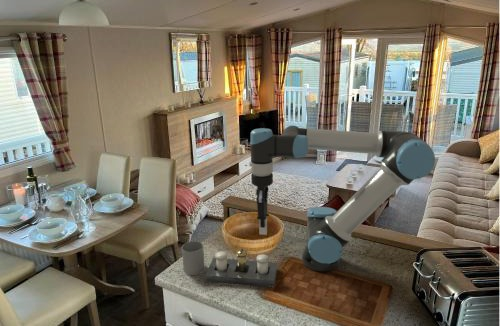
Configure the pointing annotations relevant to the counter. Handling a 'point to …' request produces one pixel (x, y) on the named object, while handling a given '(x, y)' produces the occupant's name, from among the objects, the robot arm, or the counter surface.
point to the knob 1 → (221, 261)
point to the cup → (193, 257)
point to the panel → (242, 274)
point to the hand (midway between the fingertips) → (263, 233)
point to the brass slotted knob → (241, 259)
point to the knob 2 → (262, 264)
